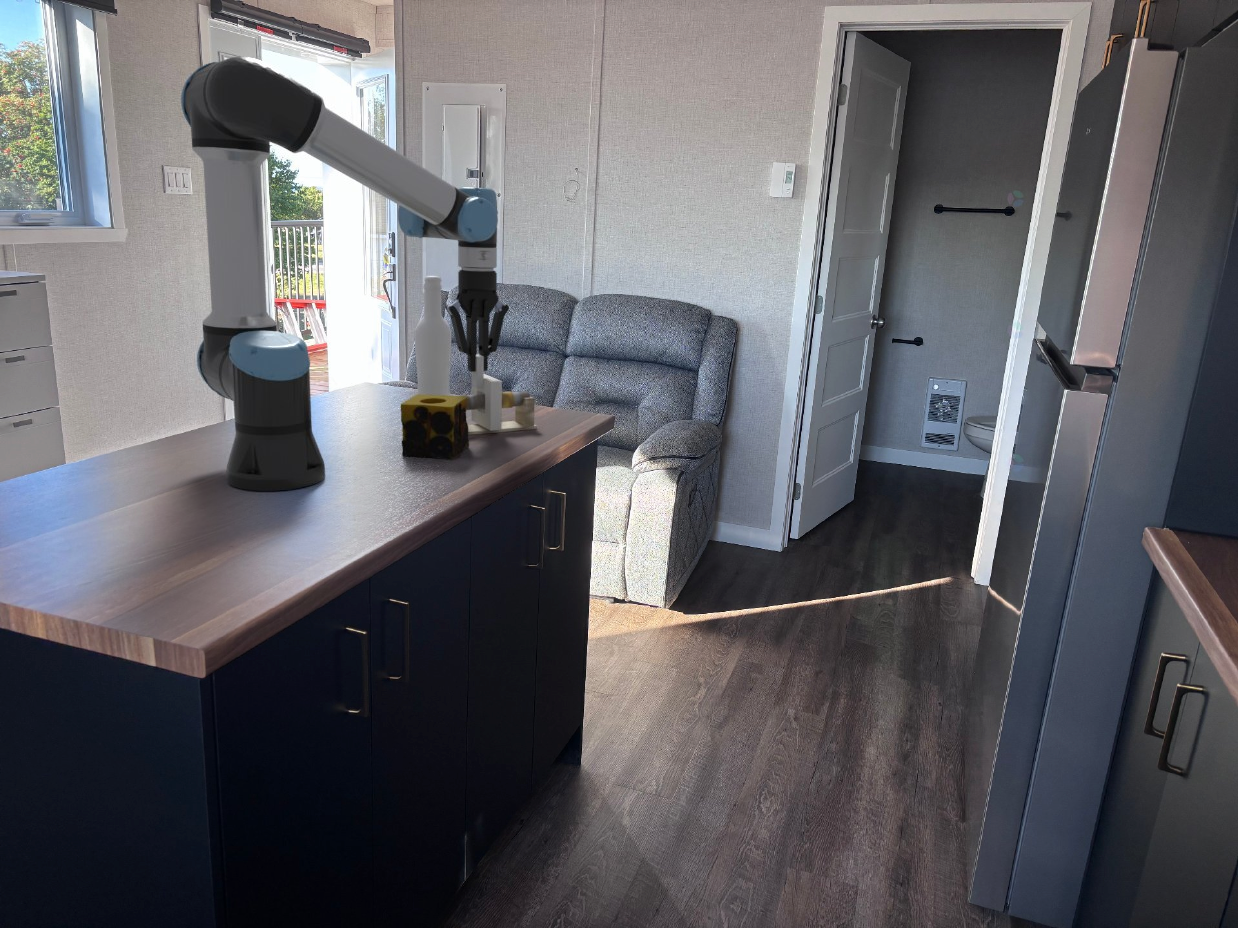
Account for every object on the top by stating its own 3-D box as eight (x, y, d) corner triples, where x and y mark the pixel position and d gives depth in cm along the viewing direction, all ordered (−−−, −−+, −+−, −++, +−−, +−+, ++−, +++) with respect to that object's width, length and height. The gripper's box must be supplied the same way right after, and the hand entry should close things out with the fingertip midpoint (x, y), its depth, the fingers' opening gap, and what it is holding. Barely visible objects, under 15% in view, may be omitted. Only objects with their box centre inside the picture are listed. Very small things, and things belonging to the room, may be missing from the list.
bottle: (413, 410, 206) (411, 274, 198) (449, 409, 208) (449, 275, 200) (417, 418, 198) (414, 277, 190) (454, 417, 201) (454, 278, 193)
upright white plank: (490, 430, 186) (490, 381, 183) (471, 420, 194) (471, 373, 191) (501, 429, 187) (501, 381, 184) (482, 419, 195) (482, 373, 193)
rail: (451, 436, 184) (451, 398, 182) (441, 430, 189) (440, 393, 187) (537, 428, 194) (537, 392, 191) (524, 422, 198) (525, 387, 196)
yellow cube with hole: (469, 447, 176) (469, 396, 174) (455, 460, 167) (455, 406, 164) (417, 443, 177) (417, 393, 175) (400, 456, 168) (399, 403, 165)
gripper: (453, 270, 175) (454, 392, 181) (515, 270, 181) (514, 388, 188) (439, 267, 181) (440, 385, 187) (500, 268, 188) (499, 382, 194)
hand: (477, 387), depth 187 cm, fingers closed
